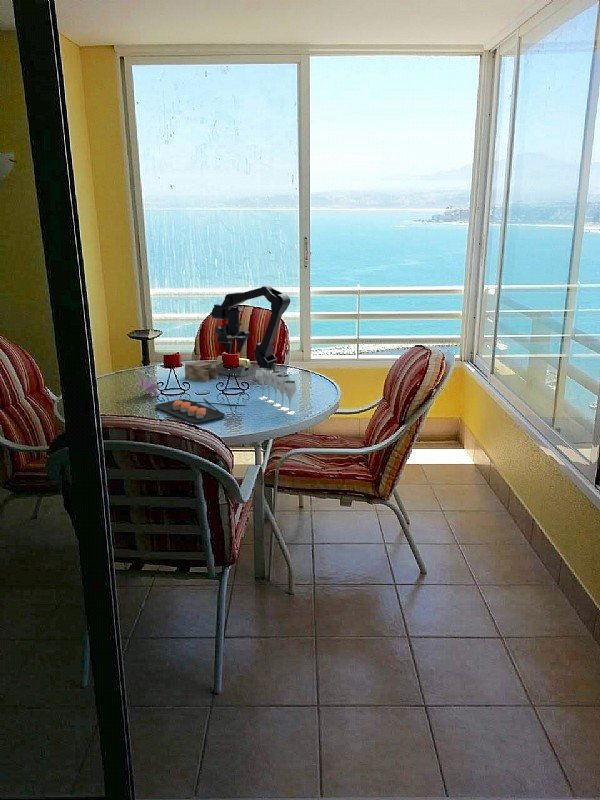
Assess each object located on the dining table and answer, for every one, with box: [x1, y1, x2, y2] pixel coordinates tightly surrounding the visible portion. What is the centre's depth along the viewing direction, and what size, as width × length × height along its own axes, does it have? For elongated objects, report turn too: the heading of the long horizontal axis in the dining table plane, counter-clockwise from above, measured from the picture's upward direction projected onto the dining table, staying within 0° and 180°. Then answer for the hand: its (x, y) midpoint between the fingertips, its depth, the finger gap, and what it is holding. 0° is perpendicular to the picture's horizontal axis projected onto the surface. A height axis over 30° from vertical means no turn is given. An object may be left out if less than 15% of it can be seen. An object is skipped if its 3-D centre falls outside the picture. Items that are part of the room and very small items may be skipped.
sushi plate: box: [154, 398, 247, 424], centre depth 239 cm, size 29×30×4 cm
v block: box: [215, 363, 254, 378], centre depth 295 cm, size 14×10×4 cm
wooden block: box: [184, 360, 219, 383], centre depth 284 cm, size 12×8×6 cm, turn 62°
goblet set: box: [254, 367, 297, 415], centre depth 244 cm, size 28×6×13 cm, turn 30°
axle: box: [216, 355, 251, 368], centre depth 294 cm, size 16×4×4 cm, turn 62°
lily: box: [134, 372, 162, 400], centre depth 254 cm, size 12×12×10 cm
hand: (233, 354), depth 293 cm, fingers open, 9 cm apart
